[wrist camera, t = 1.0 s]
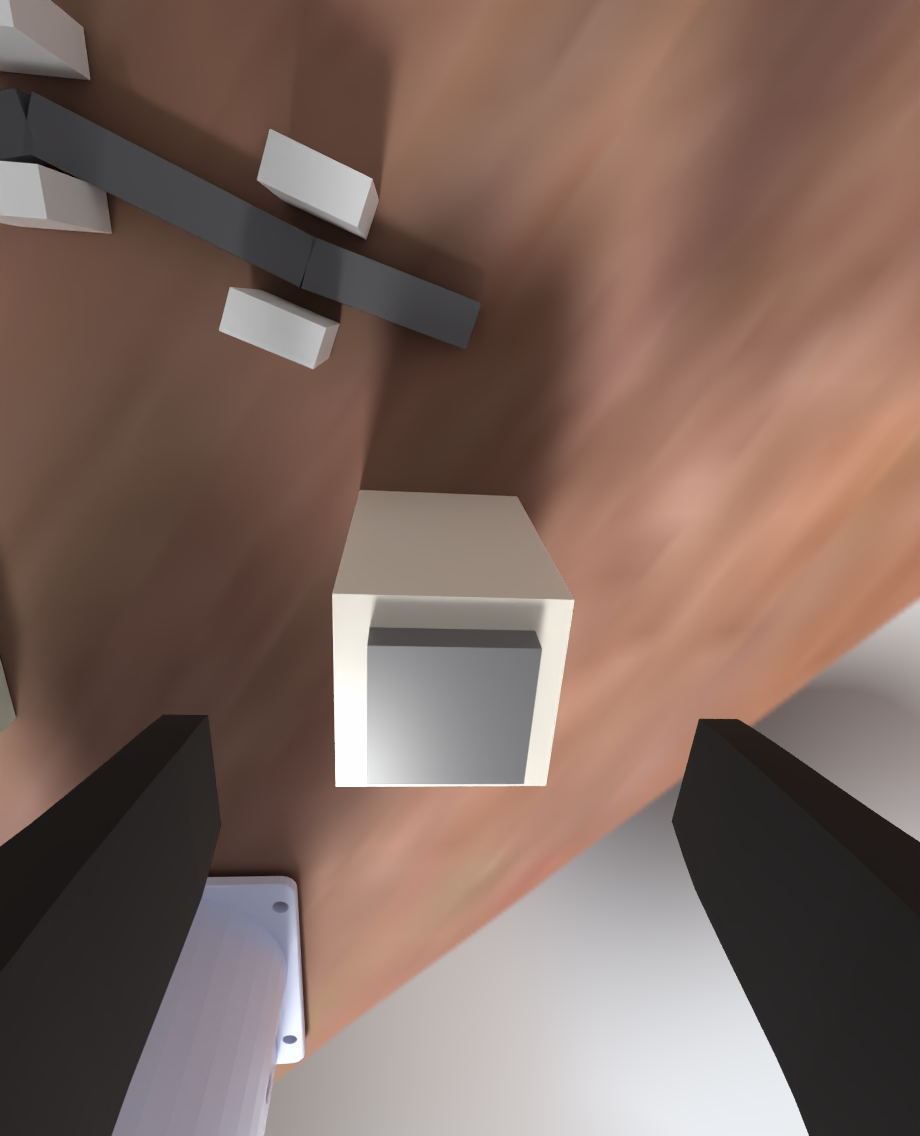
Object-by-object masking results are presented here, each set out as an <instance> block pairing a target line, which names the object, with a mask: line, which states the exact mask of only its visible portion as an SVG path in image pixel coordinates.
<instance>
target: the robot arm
mask: <svg viewBox="0 0 920 1136" xmlns="http://www.w3.org/2000/svg"><path fill="white" fill-rule="evenodd" d="M672 823H673V826H674V829H675V833H676V836H677V839H678V842H679V845H680V848H681V851H682V854H683V857H684V860H685V863H686V865H687V868H688V871H689V874H690V877H691V879H692V882H693V885H694V887H695V890H696V892H697V894H698V896H699V899H700V901H701V903H702V905H703V907H704V909H705V911H706V913H707V916H708V918H709V920H710V922H711V924H712V926H713V928H714V930H715V932H716V934H717V937H718V939H719V941H720V943H721V945H722V947H723V949H724V951H725V953H726V955H727V957H728V959H729V961H730V963H731V965H732V967H733V970H734V972H735V973H736V976H737V978H738V980H739V982H740V984H741V986H742V988H743V990H744V992H745V994H746V996H747V998H748V1000H749V1002H750V1004H751V1006H752V1008H753V1010H754V1013H755V1015H756V1017H757V1019H758V1021H759V1023H760V1025H761V1027H762V1029H763V1030H764V1033H765V1035H766V1037H767V1039H768V1041H769V1043H770V1045H771V1047H772V1049H773V1052H774V1053H775V1056H776V1058H777V1060H778V1062H779V1065H780V1067H781V1069H782V1071H783V1073H784V1076H785V1078H786V1080H787V1083H788V1085H789V1087H790V1089H791V1092H792V1094H793V1096H794V1098H795V1101H796V1103H797V1106H798V1108H799V1111H800V1114H801V1116H802V1119H803V1121H804V1124H805V1126H806V1129H807V1131H808V1134H809V1136H920V842H919V841H917V840H916V839H914V838H913V837H911V836H910V835H908V834H906V833H905V832H904V831H902V830H901V829H899V828H898V827H896V826H895V825H893V824H892V823H890V822H889V821H887V820H886V819H884V818H883V817H881V816H880V815H878V814H877V813H875V812H874V811H872V810H871V809H869V808H868V807H867V806H865V805H864V804H862V803H861V802H859V801H858V800H856V799H855V798H854V797H852V796H851V795H849V794H848V793H846V792H845V791H843V790H842V789H841V788H839V787H838V786H836V785H835V784H833V783H832V782H830V781H829V780H828V779H826V778H824V777H823V776H822V775H820V774H819V773H818V772H816V771H815V770H813V769H812V768H810V767H809V766H808V765H806V764H805V763H803V762H802V761H800V760H799V759H797V758H796V757H795V756H793V755H792V754H790V753H789V752H787V751H786V750H785V749H783V748H781V747H780V746H779V745H777V744H776V743H774V742H773V741H771V740H770V739H768V738H767V737H765V736H764V735H762V734H761V733H759V732H757V731H756V730H755V729H753V728H751V727H750V726H748V725H747V724H745V723H743V722H742V721H740V720H738V719H699V721H698V725H697V729H696V733H695V736H694V740H693V744H692V748H691V751H690V755H689V759H688V763H687V766H686V770H685V774H684V778H683V781H682V785H681V789H680V793H679V796H678V800H677V804H676V807H675V811H674V815H673V819H672ZM220 827H221V821H220V813H219V804H218V796H217V787H216V779H215V770H214V762H213V753H212V745H211V736H210V728H209V719H208V715H162V716H161V717H160V718H158V719H157V720H156V721H155V722H153V723H152V724H151V725H150V726H148V727H147V728H146V729H145V730H144V731H142V732H141V733H140V734H139V735H138V736H136V737H135V738H134V739H133V740H132V741H130V742H129V743H128V744H127V745H126V746H124V747H123V748H122V749H121V750H120V751H119V752H117V753H116V754H115V755H114V756H113V757H111V758H110V759H109V760H108V761H107V762H105V763H104V764H103V765H102V766H101V767H99V768H98V769H97V770H96V771H95V772H93V773H92V774H91V775H90V776H89V777H87V778H86V779H85V780H84V781H83V782H81V783H80V784H79V785H78V786H76V787H75V788H74V789H73V790H72V791H70V792H69V793H68V794H67V795H65V796H64V797H63V798H62V799H60V800H59V801H58V802H57V803H56V804H54V805H53V806H52V807H51V808H49V809H48V810H47V811H46V812H45V813H43V814H42V815H41V816H40V817H38V818H37V819H36V820H35V821H33V822H32V823H31V824H30V825H28V826H27V827H26V828H24V829H23V830H22V831H20V832H19V833H18V834H16V835H15V836H14V837H12V838H11V839H10V840H8V841H7V842H6V843H4V844H3V845H2V846H0V1136H264V1131H265V1126H266V1120H267V1114H268V1109H269V1102H270V1097H271V1091H272V1086H273V1080H274V1074H275V1068H276V1064H283V1063H295V1062H298V1061H300V1060H301V1059H302V1058H303V1057H304V1054H305V1048H306V1039H305V1021H304V1002H303V984H302V966H301V947H300V929H299V911H298V892H297V885H296V882H295V881H294V880H293V879H291V878H289V877H286V876H246V877H208V874H209V870H210V866H211V863H212V859H213V855H214V851H215V847H216V843H217V839H218V835H219V831H220Z"/></svg>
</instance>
